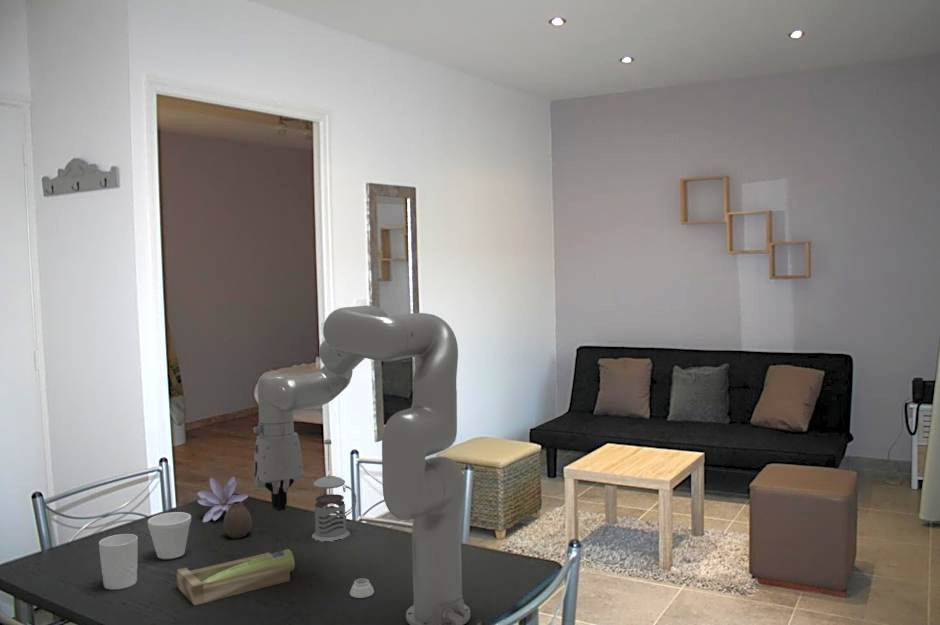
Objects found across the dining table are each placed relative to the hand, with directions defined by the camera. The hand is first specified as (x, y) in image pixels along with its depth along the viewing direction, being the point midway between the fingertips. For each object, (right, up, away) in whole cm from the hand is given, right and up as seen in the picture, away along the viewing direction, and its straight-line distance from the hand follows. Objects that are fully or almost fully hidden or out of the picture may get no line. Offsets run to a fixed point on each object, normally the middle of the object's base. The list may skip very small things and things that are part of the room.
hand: (279, 509), depth 186 cm
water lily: (-26, -13, +42) cm, 51 cm away
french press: (+8, -13, +26) cm, 30 cm away
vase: (-17, -14, +27) cm, 34 cm away
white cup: (-34, -16, -4) cm, 38 cm away
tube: (+3, -12, +1) cm, 12 cm away
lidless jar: (+20, -15, -12) cm, 28 cm away
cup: (-29, -15, +13) cm, 35 cm away
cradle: (-8, -15, -5) cm, 18 cm away
